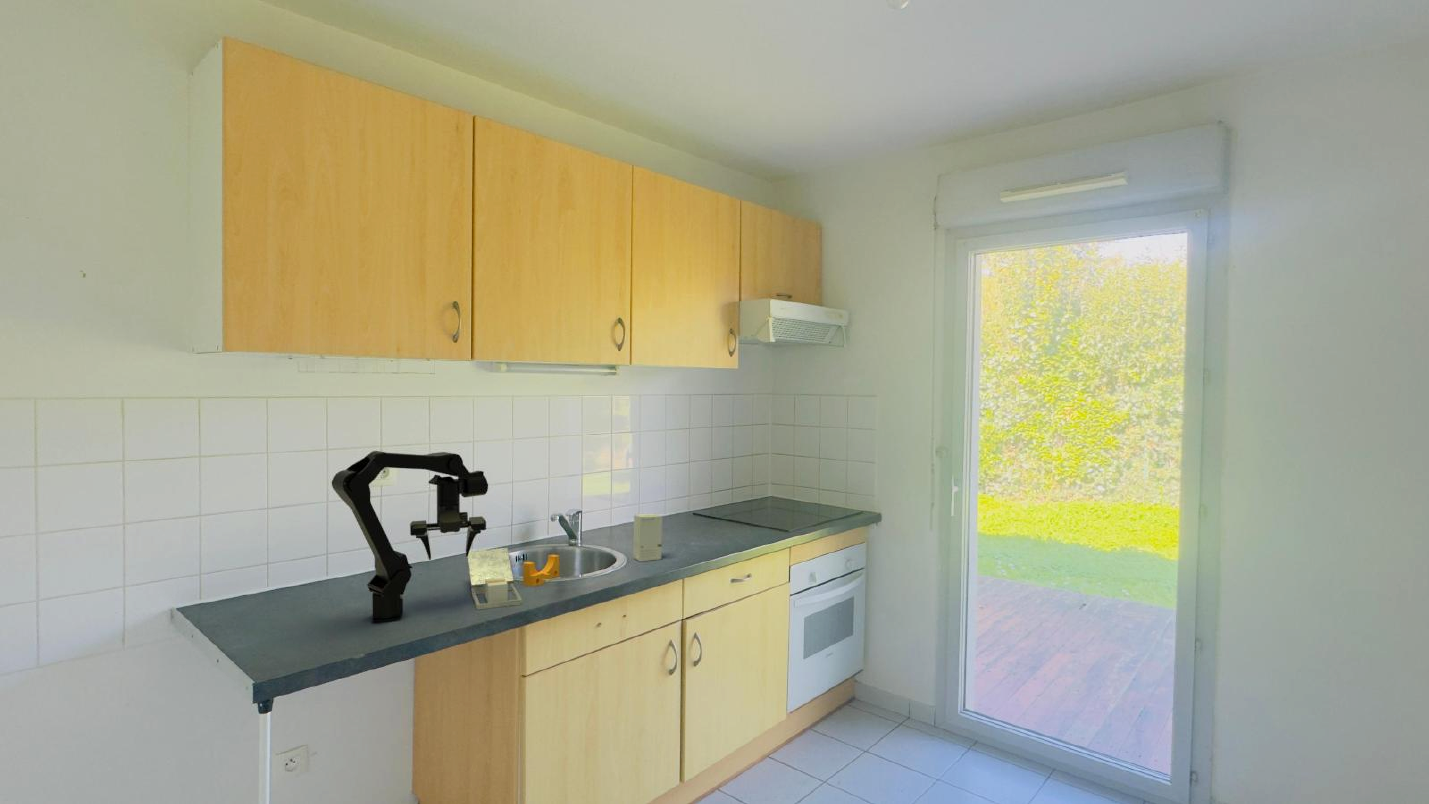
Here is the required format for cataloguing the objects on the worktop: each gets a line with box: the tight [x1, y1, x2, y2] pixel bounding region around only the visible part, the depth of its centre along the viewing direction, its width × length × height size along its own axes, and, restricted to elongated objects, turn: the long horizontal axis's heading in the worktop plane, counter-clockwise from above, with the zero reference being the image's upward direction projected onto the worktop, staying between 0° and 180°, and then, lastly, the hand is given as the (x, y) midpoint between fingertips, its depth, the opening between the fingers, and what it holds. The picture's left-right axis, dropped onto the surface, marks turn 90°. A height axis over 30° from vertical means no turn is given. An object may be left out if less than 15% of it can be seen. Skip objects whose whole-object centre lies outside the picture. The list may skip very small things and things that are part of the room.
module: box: [484, 577, 509, 603], centre depth 192 cm, size 5×7×5 cm
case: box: [466, 547, 523, 611], centre depth 198 cm, size 11×27×9 cm, turn 24°
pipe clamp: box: [522, 554, 560, 588], centre depth 210 cm, size 12×4×6 cm, turn 148°
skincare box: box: [632, 513, 663, 563], centre depth 236 cm, size 8×6×15 cm
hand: (448, 557), depth 189 cm, fingers open, 9 cm apart
